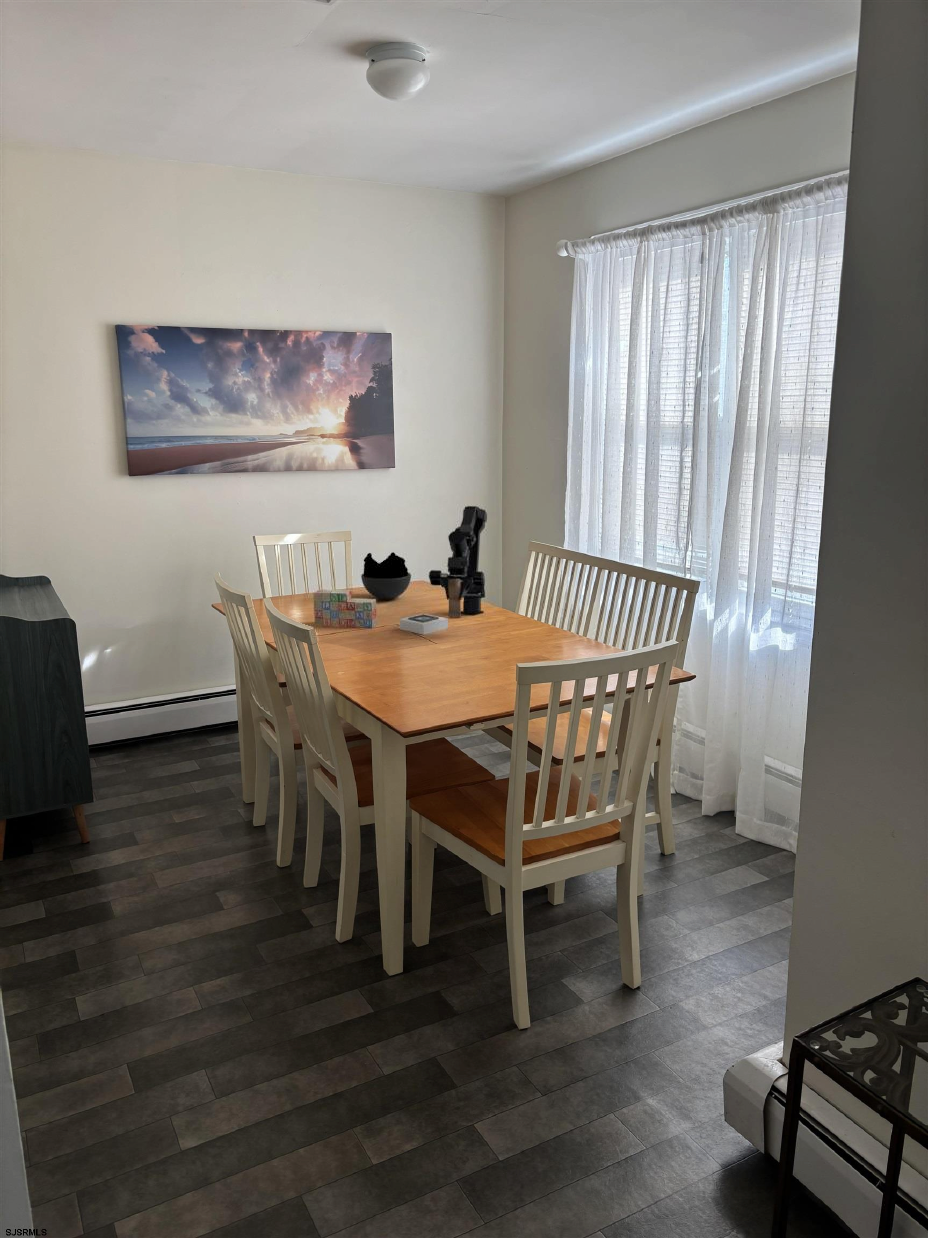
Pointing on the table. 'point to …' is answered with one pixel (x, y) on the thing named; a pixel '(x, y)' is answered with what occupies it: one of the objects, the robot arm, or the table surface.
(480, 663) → the table surface
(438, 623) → the socket block
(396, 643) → the table surface
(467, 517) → the robot arm
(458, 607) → the walnut peg
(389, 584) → the coal bowl
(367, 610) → the stack of blocks
